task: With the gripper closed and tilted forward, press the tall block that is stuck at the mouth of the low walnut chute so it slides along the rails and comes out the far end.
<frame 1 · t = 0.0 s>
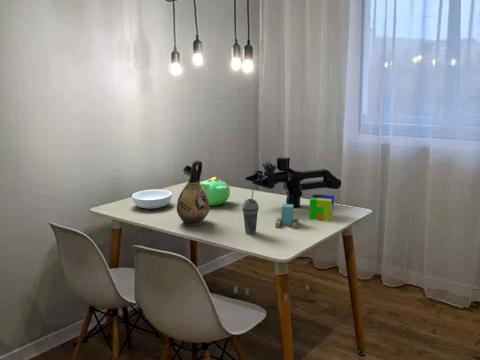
hand: (249, 180, 242), 17 cm above the table, tool horizontal, fingers open, 9 cm apart
serving bowl: (152, 206, 257), on the table
block: (287, 214, 225), point 4 cm above the table, slide at 0.0 cm
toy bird: (213, 205, 259), on the table
chute: (287, 224, 226), on the table
beverage cup: (250, 233, 214), on the table
puzzle toy: (321, 217, 236), on the table
ceramic jug: (194, 223, 229), on the table
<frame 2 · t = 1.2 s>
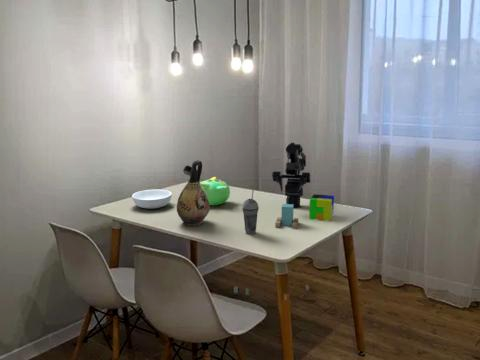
hand: (289, 191, 235), 13 cm above the table, tool tilted 45°, fingers open, 8 cm apart
nothing on the table moved.
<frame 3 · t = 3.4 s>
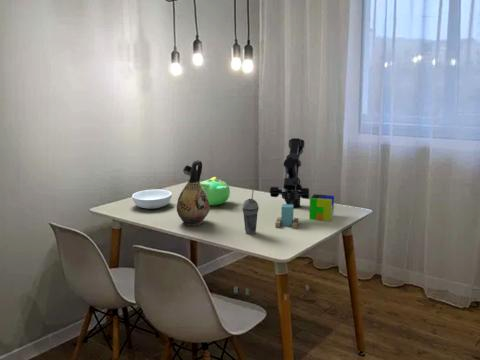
hand: (288, 207, 227), 7 cm above the table, tool tilted 45°, fingers closed, pressing on block
block: (287, 215, 224), point 4 cm above the table, slide at 0.2 cm, touching gripper
everything else where it was.
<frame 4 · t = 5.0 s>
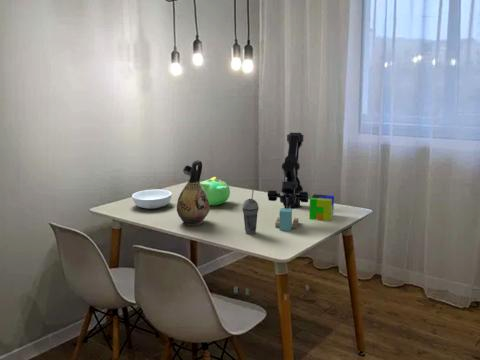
hand: (286, 212, 220), 7 cm above the table, tool tilted 45°, fingers closed, pressing on block
block: (285, 219, 218), point 4 cm above the table, slide at 7.3 cm, touching gripper
everything else where it was.
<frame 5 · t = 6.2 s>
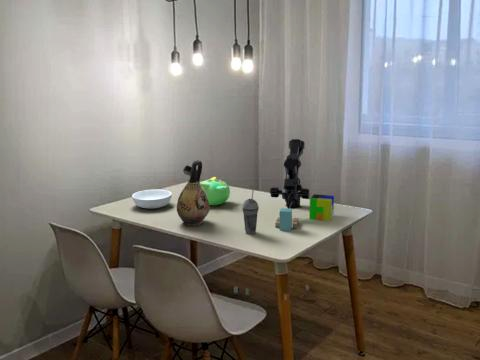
hand: (288, 208, 228), 7 cm above the table, tool tilted 45°, fingers closed
block: (285, 219, 218), point 4 cm above the table, slide at 7.3 cm
everything else where it was.
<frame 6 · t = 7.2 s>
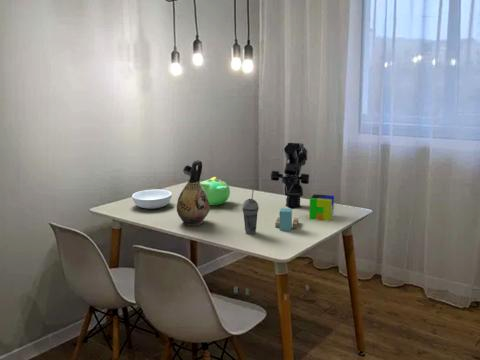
hand: (287, 192, 234), 12 cm above the table, tool tilted 40°, fingers closed
nothing on the table moved.
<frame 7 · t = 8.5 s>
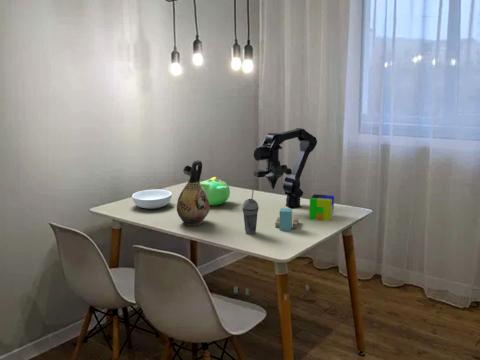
hand: (272, 188, 243), 12 cm above the table, tool pointing down, fingers closed
nothing on the table moved.
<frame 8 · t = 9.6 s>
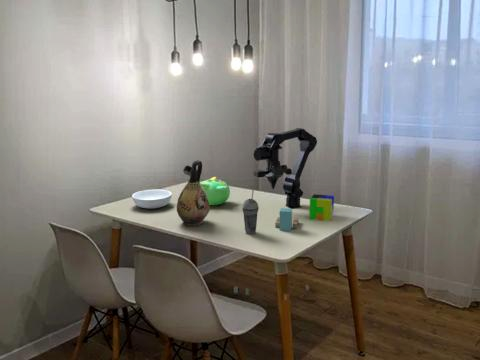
hand: (272, 188, 243), 12 cm above the table, tool pointing down, fingers closed
nothing on the table moved.
at the end: block slide at 7.3 cm; block touching nothing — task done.
